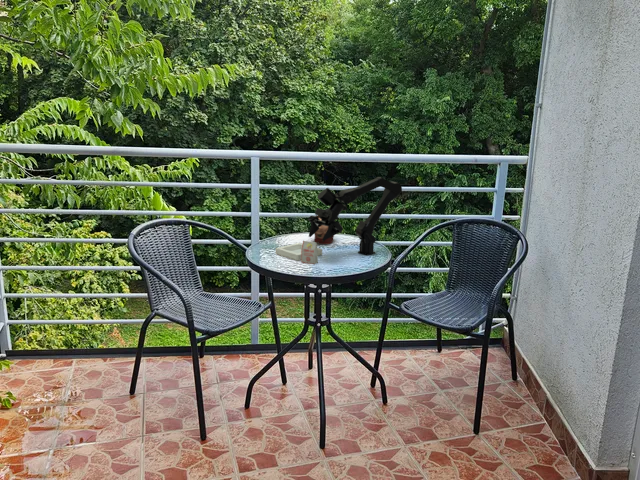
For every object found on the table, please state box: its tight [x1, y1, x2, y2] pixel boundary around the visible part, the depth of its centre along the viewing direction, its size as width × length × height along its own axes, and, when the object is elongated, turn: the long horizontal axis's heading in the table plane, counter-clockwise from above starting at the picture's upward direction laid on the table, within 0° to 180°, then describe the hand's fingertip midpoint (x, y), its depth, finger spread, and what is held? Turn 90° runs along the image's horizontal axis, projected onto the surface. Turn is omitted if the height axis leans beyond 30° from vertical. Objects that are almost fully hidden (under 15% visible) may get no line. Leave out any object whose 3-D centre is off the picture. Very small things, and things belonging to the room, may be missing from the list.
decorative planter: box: [313, 215, 335, 245], centre depth 296 cm, size 20×12×14 cm, turn 164°
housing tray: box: [275, 242, 323, 262], centre depth 272 cm, size 16×16×3 cm
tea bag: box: [300, 240, 319, 265], centre depth 259 cm, size 4×7×10 cm, turn 64°
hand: (316, 238), depth 260 cm, fingers open, 9 cm apart
